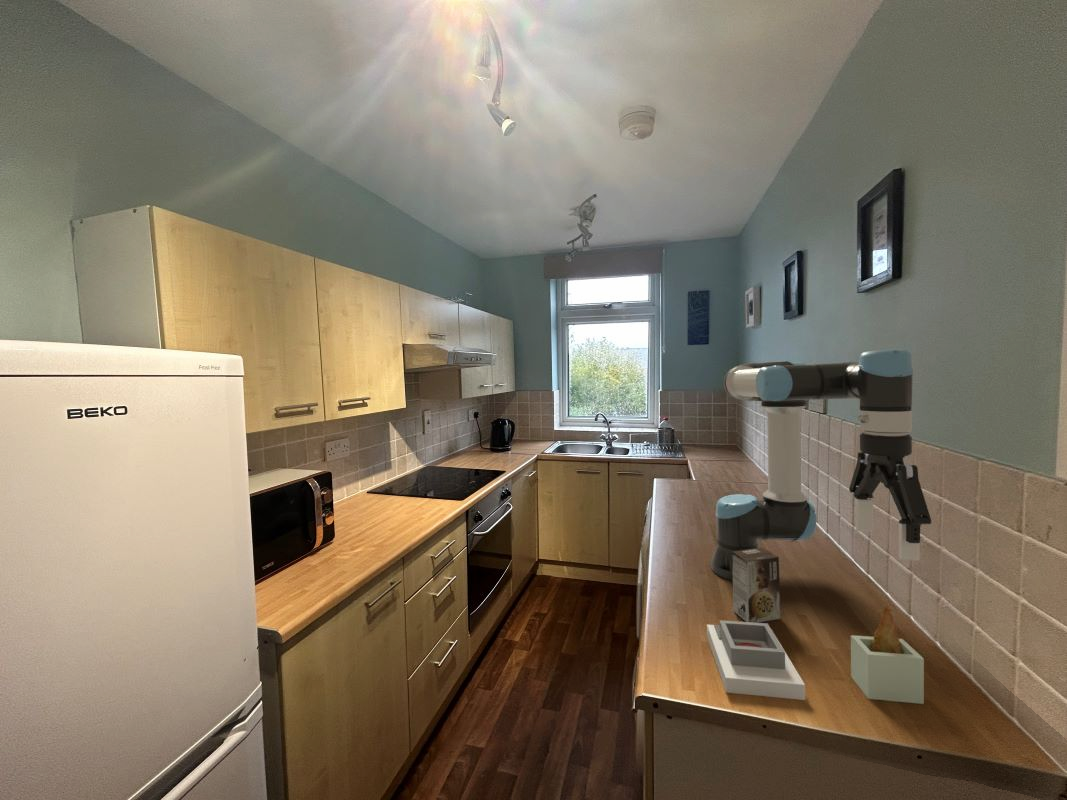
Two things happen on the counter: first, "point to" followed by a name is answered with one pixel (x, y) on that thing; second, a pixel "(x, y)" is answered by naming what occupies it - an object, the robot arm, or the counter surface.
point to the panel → (753, 661)
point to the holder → (887, 672)
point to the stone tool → (886, 635)
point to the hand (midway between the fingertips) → (885, 544)
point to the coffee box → (756, 585)
